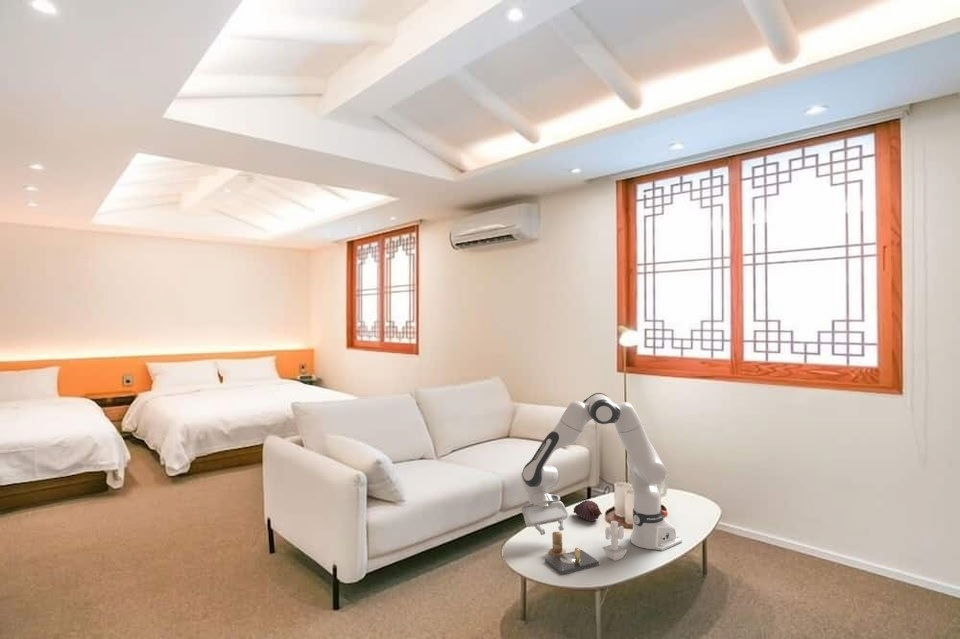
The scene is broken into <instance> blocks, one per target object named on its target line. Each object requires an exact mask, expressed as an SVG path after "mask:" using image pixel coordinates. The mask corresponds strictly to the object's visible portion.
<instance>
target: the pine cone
mask: <svg viewBox="0 0 960 639" xmlns="http://www.w3.org/2000/svg"><path fill="white" fill-rule="evenodd" d="M573 513H574V514H575V515H576V516H578V517H579V518H582V519H583V520H586V521H589V522H590V521H591V522H592V521H593V522H594V521H596V520H598V519H599V518H600V516H602V515H603V513H602V511H601V510H600V507H599V505H598V503H596V502H595V501H593V500H589V499H588V500H583V501H582V502H580V503H578V504H577V505H575V506H574V507H573Z"/></svg>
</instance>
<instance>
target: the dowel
mask: <svg viewBox="0 0 960 639" xmlns="http://www.w3.org/2000/svg"><path fill="white" fill-rule="evenodd" d="M580 550H581V549H580V548H579V547H576V548H574V551H575V565H580Z"/></svg>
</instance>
